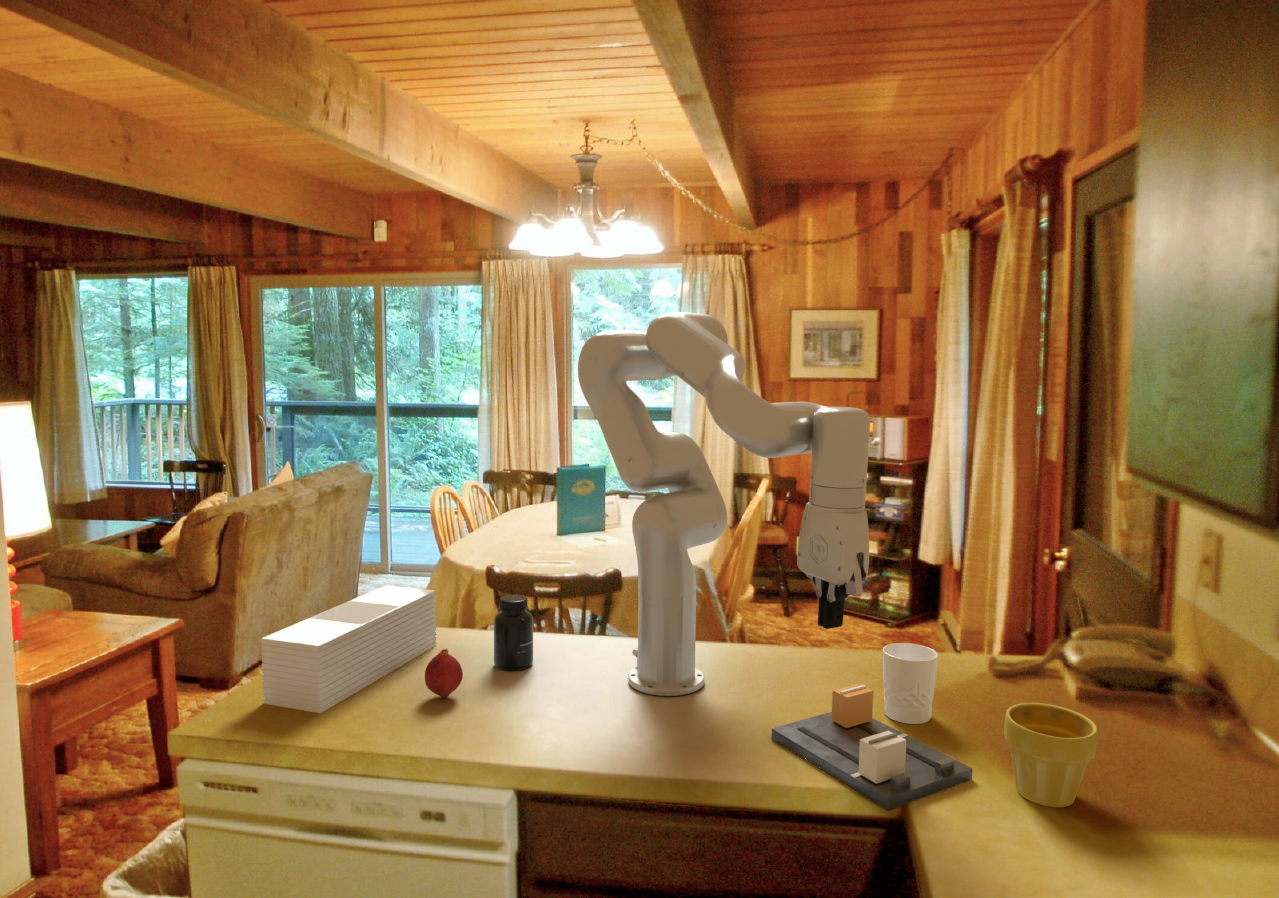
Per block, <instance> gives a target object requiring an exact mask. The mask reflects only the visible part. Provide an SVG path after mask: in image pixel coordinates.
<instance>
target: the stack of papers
mask: <svg viewBox="0 0 1279 898" xmlns="http://www.w3.org/2000/svg"><path fill="white" fill-rule="evenodd" d="M436 610H437V609H436V590H435V589H434V590H433V589H426V588H425V589H424V588H417V587H415V588H414V587H405V586H398V585H397V586H396V585H389V584H388V585H387V584H386V585H384V586H381V587H379V588H376V589H374V590H371V591H369V592H366V593H365V594H362V595H360V596H357V597H355V598H353V599H351V600H348V601H346V602H343V603H341V604H338V605H337V606H336V605H335V606H334V607H331V608H329V609H327V610H324V611H322V612H320V613H317V614H315V615H313V616H310V617H308V618H306V619H302V620H300V621H299V622H296V623H294V624H291V625H289V626H287V627H284V628H282V629H279V630H277V631H275V632H272V633H270V634H268V635H265V636H263V637H260V644H261V646H260V649H261V650H262V651H261V652H260V653H261V662H262V663H261V668H262V669H261V671H262V689H263V690H262V692H263V695H262V696H263V704H265V705H269V706H275V707H280V708H281V707H282V708H286V709H287V708H288V709H293V710H299V711H305V712H311V713H317V714H322V713H324V712H325V711H327V710H329V709H330V708H332V707H334V706H335V705H338V704H339V703H341V702H342V701H344V700H346V699H348V698H349V697H351V696H353V695H354V694H356V693H358V692H359V691H361V690H363V689H364V688H366V687H368V686H369V685H371V684H373V683H374V682H377V681H378V680H380V679H382V678H384V677H385V676H386V675H388V674H390V673H392V672H394V671H395V670H398V668H400V667H402V666H404V665H405V664H407V663H409V662H410V661H412V660H414V659H415V658H418V657H419V656H421V655H422V654H424V653H426V652H428V651H429V650H431V649H432V648H434V647H436V646H437V622H436V620H437V617H436V616H437V614H436Z"/></svg>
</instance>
